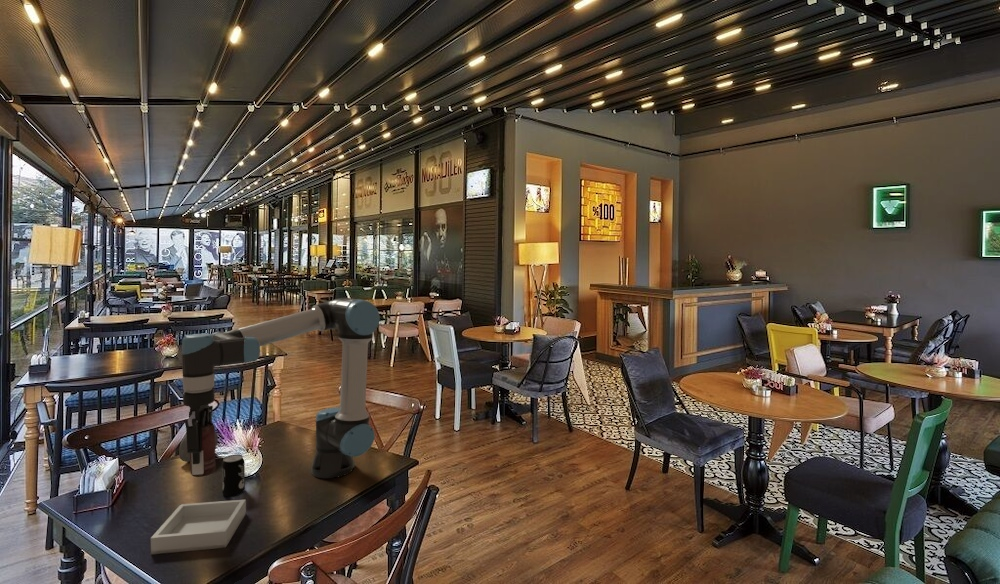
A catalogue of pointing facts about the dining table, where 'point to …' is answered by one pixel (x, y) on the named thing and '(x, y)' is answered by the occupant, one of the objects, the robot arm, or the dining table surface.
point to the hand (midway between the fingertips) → (200, 470)
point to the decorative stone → (183, 448)
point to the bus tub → (199, 527)
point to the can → (207, 450)
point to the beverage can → (233, 475)
